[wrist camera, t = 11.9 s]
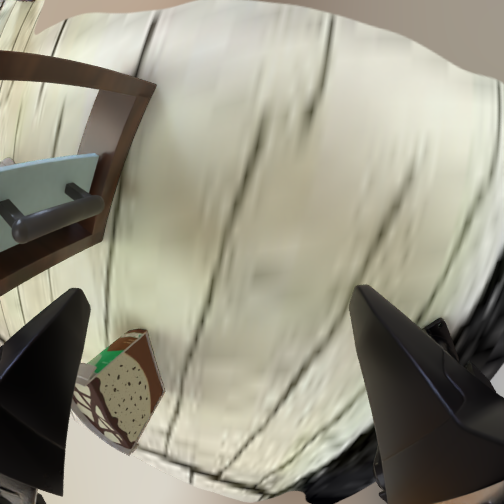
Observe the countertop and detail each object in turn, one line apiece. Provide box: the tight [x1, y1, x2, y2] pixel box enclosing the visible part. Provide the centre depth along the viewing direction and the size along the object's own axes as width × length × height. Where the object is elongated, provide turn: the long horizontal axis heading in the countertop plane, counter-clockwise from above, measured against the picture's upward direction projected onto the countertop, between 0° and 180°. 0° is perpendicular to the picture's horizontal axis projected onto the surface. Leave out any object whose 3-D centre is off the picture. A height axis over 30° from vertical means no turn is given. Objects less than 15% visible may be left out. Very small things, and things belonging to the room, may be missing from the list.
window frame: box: [0, 50, 156, 296], centre depth 13 cm, size 15×4×15 cm, turn 152°
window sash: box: [0, 153, 105, 252], centre depth 14 cm, size 6×4×11 cm
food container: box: [71, 329, 165, 456], centre depth 23 cm, size 12×6×10 cm, turn 2°
